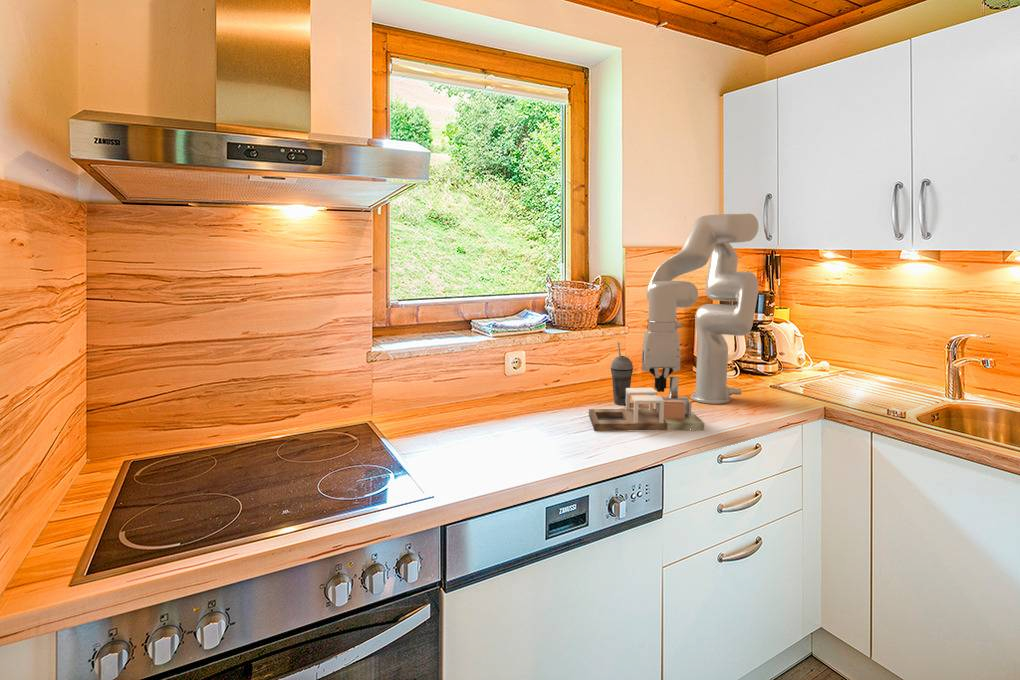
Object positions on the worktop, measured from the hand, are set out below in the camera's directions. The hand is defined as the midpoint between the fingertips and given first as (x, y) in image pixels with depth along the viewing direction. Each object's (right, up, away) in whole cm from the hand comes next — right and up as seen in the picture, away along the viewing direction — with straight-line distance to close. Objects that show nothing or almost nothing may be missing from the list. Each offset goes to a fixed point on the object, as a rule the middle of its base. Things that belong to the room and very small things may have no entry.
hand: (660, 390), depth 159 cm
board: (-4, -9, +2) cm, 10 cm away
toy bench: (-4, -7, +1) cm, 9 cm away
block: (+3, -7, +1) cm, 8 cm away
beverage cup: (-7, -6, +22) cm, 24 cm away
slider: (+4, -7, +1) cm, 8 cm away
